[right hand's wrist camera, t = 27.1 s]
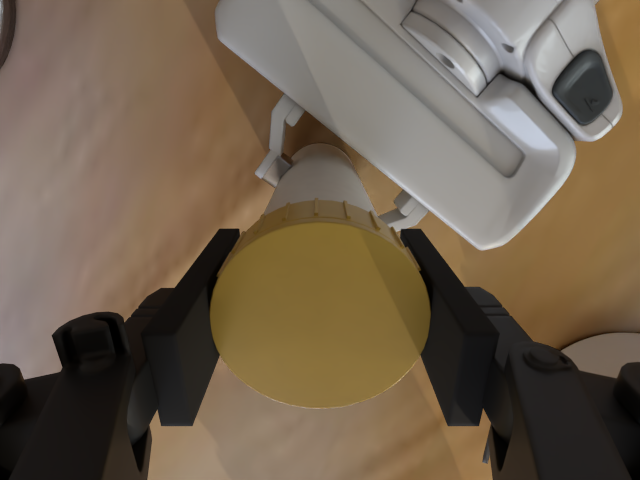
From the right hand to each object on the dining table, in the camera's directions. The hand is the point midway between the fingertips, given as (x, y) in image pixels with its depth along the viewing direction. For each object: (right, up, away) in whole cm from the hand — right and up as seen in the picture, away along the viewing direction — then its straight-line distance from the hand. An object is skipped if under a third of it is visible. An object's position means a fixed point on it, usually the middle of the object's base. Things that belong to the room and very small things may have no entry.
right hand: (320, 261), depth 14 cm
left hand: (0, +3, +8) cm, 8 cm away
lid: (0, -1, -4) cm, 4 cm away
